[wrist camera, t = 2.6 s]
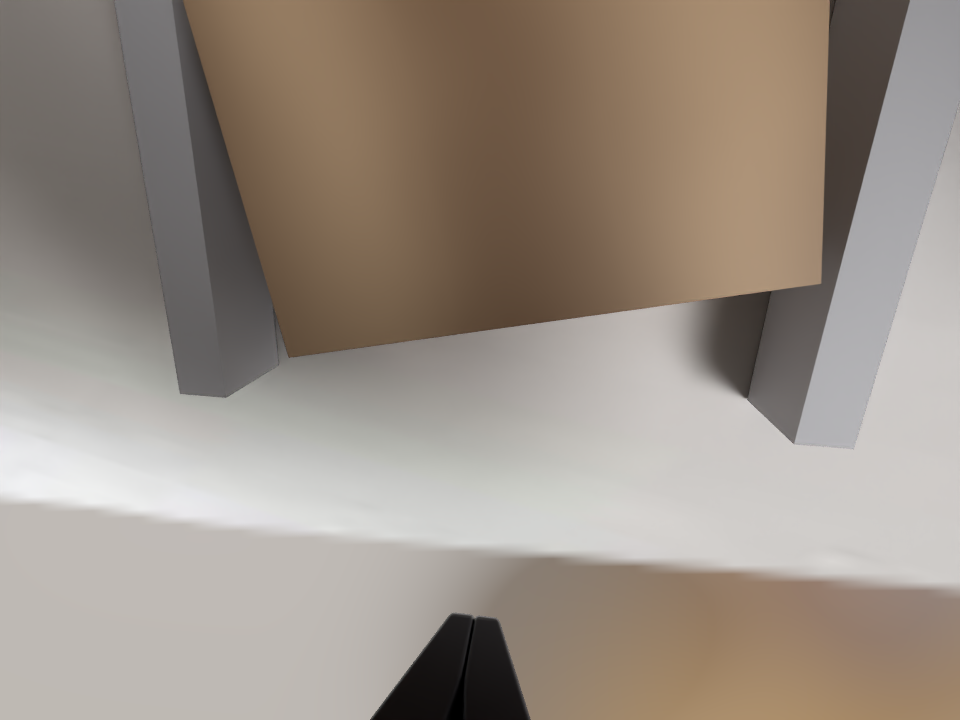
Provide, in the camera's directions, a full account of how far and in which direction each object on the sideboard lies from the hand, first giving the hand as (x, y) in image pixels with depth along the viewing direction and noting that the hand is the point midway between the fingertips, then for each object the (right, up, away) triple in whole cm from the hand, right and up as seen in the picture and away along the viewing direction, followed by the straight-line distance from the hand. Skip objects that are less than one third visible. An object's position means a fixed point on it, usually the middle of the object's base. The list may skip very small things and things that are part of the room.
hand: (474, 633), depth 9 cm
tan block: (+1, +10, +3) cm, 11 cm away
